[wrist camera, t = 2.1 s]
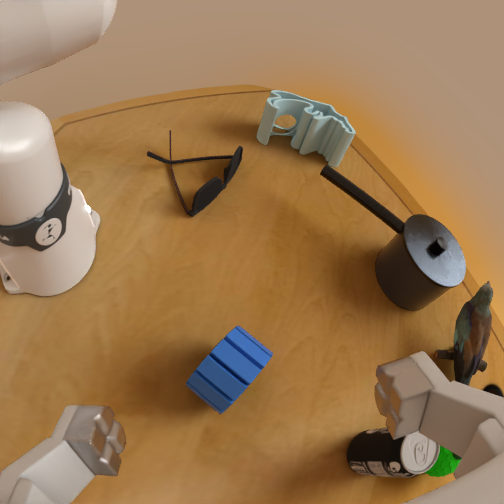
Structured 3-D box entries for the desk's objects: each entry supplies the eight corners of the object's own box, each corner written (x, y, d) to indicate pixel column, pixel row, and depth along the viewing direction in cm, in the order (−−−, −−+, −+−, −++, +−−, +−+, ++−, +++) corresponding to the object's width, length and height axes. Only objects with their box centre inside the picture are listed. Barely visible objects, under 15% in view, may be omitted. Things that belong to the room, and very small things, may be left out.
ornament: (444, 428, 38) (489, 417, 30) (438, 475, 34) (485, 472, 25) (408, 427, 38) (454, 417, 30) (401, 478, 33) (448, 478, 25)
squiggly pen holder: (333, 141, 70) (348, 109, 62) (338, 168, 65) (356, 135, 57) (257, 121, 68) (267, 87, 60) (255, 148, 62) (266, 110, 55)
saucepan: (287, 220, 53) (310, 173, 44) (324, 184, 61) (347, 141, 52) (420, 327, 48) (464, 298, 39) (439, 275, 55) (475, 244, 46)
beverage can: (381, 426, 37) (438, 414, 28) (386, 467, 34) (445, 466, 24) (341, 435, 36) (395, 429, 26) (346, 479, 33) (401, 486, 23)
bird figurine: (475, 418, 39) (543, 325, 31) (437, 423, 38) (512, 321, 30) (448, 369, 51) (499, 282, 43) (411, 368, 50) (465, 272, 42)
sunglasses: (183, 134, 60) (185, 114, 56) (246, 164, 59) (252, 144, 55) (128, 183, 51) (126, 162, 47) (198, 222, 49) (201, 200, 45)
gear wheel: (185, 389, 36) (186, 377, 28) (231, 339, 41) (244, 314, 33) (216, 416, 35) (227, 411, 27) (261, 363, 40) (282, 344, 32)
